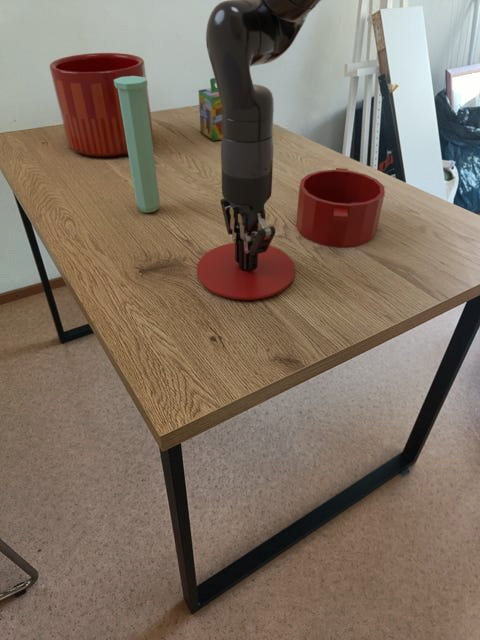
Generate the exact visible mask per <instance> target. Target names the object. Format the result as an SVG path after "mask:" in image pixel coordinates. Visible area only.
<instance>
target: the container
mask: <svg viewBox="0 0 480 640" xmlns="http://www.w3.org/2000/svg"><path fill="white" fill-rule="evenodd" d="M114 84H115V87H116V88H118V93H119V99H120V106H121V112H122V118H123V124H124V130H125V136H126V143H127V149H128V155H127V156H128V160H129V167H130V173H131V180H132V184H133V186H132V187H133V191H134V197H135V205H136V206H137V209H138V210H139V211H140V212H143V213H147V214H148V213H154V212H156V211H157V210H158V209H159V208H160V205H161V201H160V193H159V185H158V179H157V177H158V176H157V171H156V170H157V169H156V161H155V154H154V145H153V140H152V137H151V129H150V121H149V113H148V105H147V97H146V89H145V86H147V87H148V86H149V85H148V79H147V77H146V78H145V77H139V76H127V77H120V78H117V79H114Z"/></svg>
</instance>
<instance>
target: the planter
mask: <svg viewBox="0 0 480 640" xmlns="http://www.w3.org/2000/svg"><path fill="white" fill-rule="evenodd" d="M49 70H50V75H51V79H52V83H53V87H54V88H53V89H54V92H55V96H56V100H57V104H58V107H59V113H60V117H61V121H62V125H63V129H64V132H65V137H66V141H67V144H68V146H69V148H70V149H71V150H72V151H74V152H76V153H78V154H81V155H83V156H88V157H92V158H93V157H94V158H115V157H116V158H117V157H123V156H129V155H128V149H127V143H126V136H125V130H124V124H123V118H122V112H121V106H120V99H119V93H118V88H116V87H115V84H114V79H117V78H120V77H127V76H139V77H145V78H146V79H147V73H146V66H145V60H144V59H143V58H142V57H141V56H138V55H135V54H129V53H120V52H119V53H118V52H94V53H82V54H75V55H69V56H64V57H61V58H58V59H55V60H54V61H52V62H50V64H49ZM148 88H149V87H148V86H145V89H146V97H147V105H148V113H149V121H150V129H151V137H152V141H153V140H154V129H153V122H152V115H151V114H152V113H151V106H150V105H151V104H150V96H149V89H148Z"/></svg>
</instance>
